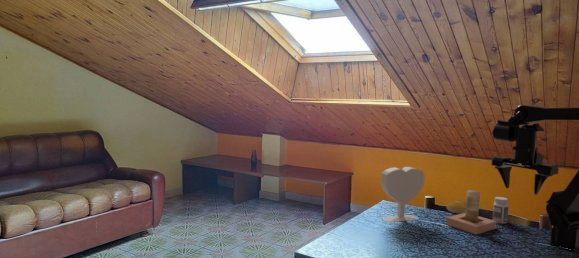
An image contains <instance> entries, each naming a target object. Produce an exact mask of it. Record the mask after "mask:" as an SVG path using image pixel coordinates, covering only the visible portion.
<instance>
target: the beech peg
mask: <svg viewBox="0 0 579 258" xmlns="http://www.w3.org/2000/svg"><path fill="white" fill-rule="evenodd" d="M480 197H481V191H480V190H479V191H478V190H475V189H468V190H466V198H465V199H466V200H465V202H466V211H465V221H468V222H472V223H477V222H478V216H479V211H480Z"/></svg>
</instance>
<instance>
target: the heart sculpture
mask: <svg viewBox="0 0 579 258" xmlns="http://www.w3.org/2000/svg"><path fill="white" fill-rule="evenodd" d="M425 177H426V176H425V173H424V171H423V170H422V169H421V170H420V169H419V168H415V167H412V166H404V167H402V168H398V167H394V166H393V167H389V168H387V169H384V170H383V171H382V172H381V174H380V185H381V188H382V190H383V192H384V193H385V194H386V196H388V197H389V198H390V199H392V200H394V201H395V202H397V215H391V216H384V217H383V218H382V220H383V221H386V222H389V223H394V222H403V221H413V220H414V221H415V220H419V217H418V216H416V215H412V214H405V207H406V205H407V204H408V203H409V202H411V201H412V200H413V199H415V198H416V197H417V195H419V194H420V192H421V191H422V189H423V188H424V183H425Z"/></svg>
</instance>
